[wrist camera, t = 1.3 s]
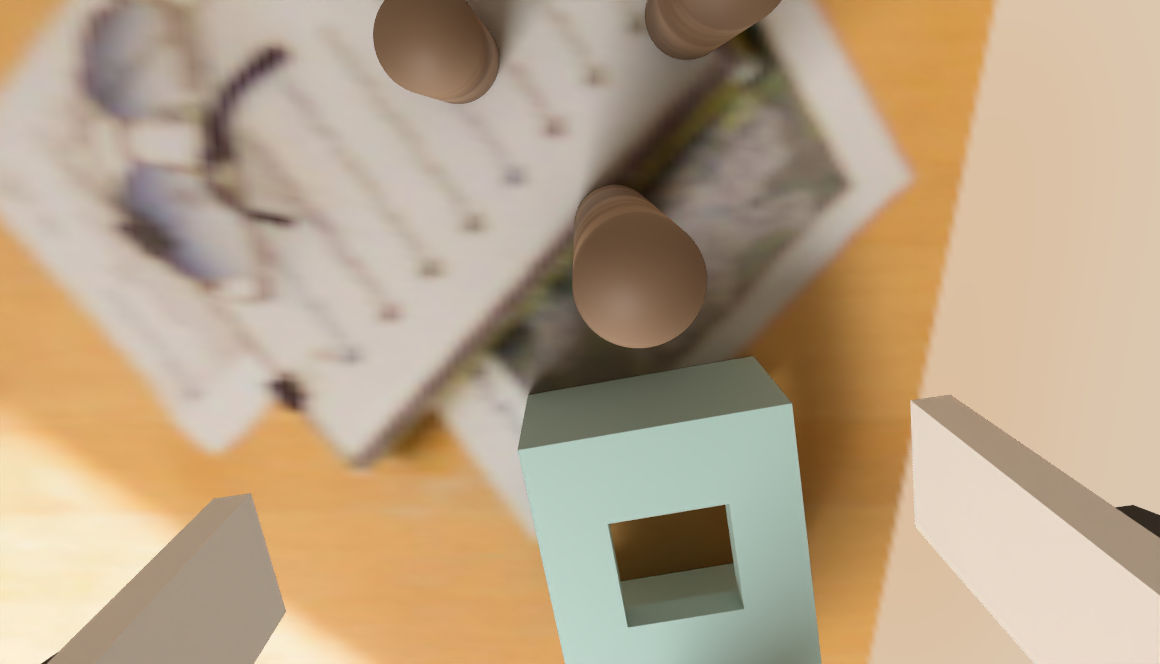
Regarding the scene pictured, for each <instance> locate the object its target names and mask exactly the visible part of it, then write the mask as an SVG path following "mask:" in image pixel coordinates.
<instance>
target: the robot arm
mask: <svg viewBox="0 0 1160 664" xmlns="http://www.w3.org/2000/svg"><path fill="white" fill-rule="evenodd" d="M911 428H912V457H913V485H914V514H915V515H914V516H915V527H916V529H917V530H918V531H919V532H920V533H921V534H922V535H923V537H924V538H925V539H926V540H927V541H928V542H929V543H930V545H931V546H932V547H933V548H934V549H935V550H936V551H937V553H938V554H939V555H940V556H941V557H942V558H943V559H944V561H945V562H946V563H947V564H948V565H949V566H950V567H951V569H952V570H953V571H954V572H955V573H956V574H957V576H958V577H959V578H960V579H961V580H962V581H963V582H964V584H965V585H966V586H967V587H968V588H969V589H970V590H971V591H972V593H973V594H974V595H975V596H976V597H977V598H978V599H979V601H980V602H981V603H982V604H983V605H984V606H985V608H986V609H987V610H988V611H989V612H990V613H991V614H992V616H993V617H994V618H995V619H996V620H997V621H998V622H999V623H1000V625H1001V626H1002V627H1003V628H1004V629H1005V630H1006V632H1007V633H1008V634H1009V635H1010V636H1011V637H1012V638H1013V640H1014V641H1015V642H1016V643H1017V644H1018V645H1019V647H1020V648H1021V649H1022V650H1023V651H1024V652H1025V653H1026V655H1027V656H1028V657H1029V658H1030V659H1031V660H1032V661H1033V663H1034V664H1160V515H1158V514H1155V513H1152V512H1150V511H1147V510H1145V509H1142V508H1139V507H1137V506H1134V505H1131V506H1123V507H1116V508H1115V507H1113V506H1112V505H1111V504H1109V503H1108V502H1106V501H1105V500H1103V499H1102V498H1100V497H1099V496H1097V495H1096V494H1095V493H1093V492H1092V491H1090V490H1089V489H1087V488H1086V487H1084V486H1083V485H1081V484H1080V483H1078V482H1077V481H1076V480H1074V479H1073V478H1071V477H1070V476H1068V475H1067V474H1065V473H1064V472H1062V471H1061V470H1059V469H1058V468H1057V467H1055V466H1054V465H1052V464H1051V463H1049V462H1048V461H1046V460H1045V459H1043V458H1042V457H1040V456H1039V455H1038V454H1036V453H1035V452H1033V451H1032V450H1030V449H1029V448H1027V447H1026V446H1024V445H1023V444H1021V443H1020V442H1019V441H1017V440H1016V439H1014V438H1013V437H1011V436H1010V435H1008V434H1007V433H1005V432H1004V431H1002V430H1001V429H999V428H998V427H997V426H995V425H994V424H992V423H991V422H989V421H988V420H986V419H985V418H983V417H982V416H981V415H979V414H978V413H976V412H975V411H973V410H972V409H970V408H969V407H967V406H966V405H965V404H963V403H962V402H960V401H959V400H957V399H956V398H954V397H953V396H951V395H946V396H939V397H932V398H924V399H917V400H911ZM285 612H286V610H285V607H284V603H283V600H282V597H281V593H280V590H279V586H278V583H277V580H276V576H275V573H274V570H273V566H272V563H271V559H270V556H269V553H268V549H267V546H266V543H265V539H264V536H263V532H262V529H261V526H260V522H259V519H258V515H257V512H256V509H255V505H254V502H253V499H252V495H251V493H250V494H243V495H236V496H229V497H222V498H215V499H213V500H212V501H211V502H210V503H209V504H208V505H207V506H206V507H205V508H204V509H203V510H202V511H201V512H200V513H199V514H198V515H197V516H196V517H195V518H194V519H193V520H192V521H191V522H190V523H189V524H188V525H187V526H186V527H185V528H184V529H183V530H182V531H181V532H180V533H178V534H177V535H176V536H175V537H174V538H173V539H172V540H171V541H170V542H169V543H168V544H167V545H166V546H165V547H164V548H163V549H162V550H161V551H160V552H159V553H158V554H157V555H156V556H155V557H154V558H153V559H152V560H151V561H150V562H149V563H148V564H147V565H146V566H145V567H144V568H143V569H142V570H141V571H140V572H139V573H138V574H137V575H136V576H135V577H134V578H133V579H132V580H131V581H130V582H129V583H128V584H127V585H126V586H125V587H124V588H123V589H122V590H121V591H120V592H119V593H118V594H117V595H116V596H115V597H114V598H113V599H112V600H111V601H110V602H109V603H108V604H107V605H106V606H105V607H104V608H103V609H102V610H101V611H100V612H99V613H98V614H97V615H96V616H95V617H94V618H93V619H92V620H91V621H90V622H89V623H87V624H86V625H85V626H84V627H83V628H82V629H81V630H80V631H79V632H78V633H77V634H76V635H75V636H74V637H73V638H72V639H71V640H70V641H69V642H68V643H67V644H66V645H65V646H64V647H63V648H62V649H61V650H60V651H59V652H58V653H56V654H55V655H53V656H52V657H50V658H49V659H47V660H46V661H45V662H43V663H42V664H254V662H255V661H256V659H257V657H258V656H259V654H260V653H261V651H262V649H263V648H264V646H265V645H266V643H267V641H268V640H269V638H270V636H271V635H272V633H273V632H274V630H275V628H276V627H277V625H278V623H279V622H280V620H281V619H282V617H283V615H284V614H285Z"/></svg>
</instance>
